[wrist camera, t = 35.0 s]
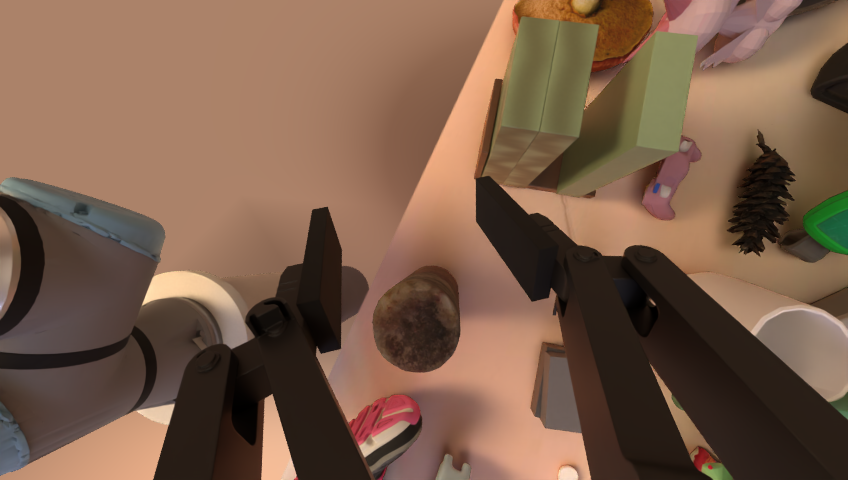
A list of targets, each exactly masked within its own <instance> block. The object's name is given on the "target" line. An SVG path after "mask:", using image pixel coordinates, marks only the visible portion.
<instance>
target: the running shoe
mask: <svg viewBox="0 0 848 480" xmlns="http://www.w3.org/2000/svg"><path fill="white" fill-rule="evenodd" d="M349 426H350V428H351V430H352V432H353V434H354V436H355V439H356V441H357V443H358V445H359V447H360V449H361V451H362V453H363V455H364V457H365V460H366V462H367V464H368V466H369V468H370V470H371V472H372V474H373V476H374V478H375V480H382V479H383V477H384V474H385V471H386V468H387V466H388V465H389V464H390V463H392V462H393V461H394V460H396V459H397V458H398V457H400V456H401V455H402V454H403V453H404V452H405V451H406V450H407V449H408V448H409V447H410V446H411V445H412V444H413V443H414V442H415V441H416V440H417V438H418V436H419V435H420V432H421V430H422V416H421V413H420V408H419V406H418V404H417V403H416V402H415V401H414V400H413V399H411V398H410V397H408V396H406V395H392V396H391V397H390V398H389V399H388V398H381V399H378V400H376V401H375V402H374V403H373V405H372V406H367V407H365V408H364V409H363V410H362V411H361V412H360V413H359V415H358V417H357V419H356V420H355V419H353V420H352V421H351V422H350V423H349ZM294 480H298V478H297V476H296V478H295V479H294Z"/></svg>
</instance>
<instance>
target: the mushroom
mask: <svg viewBox="0 0 848 480" xmlns="http://www.w3.org/2000/svg"><path fill="white" fill-rule="evenodd" d="M522 16H524V17H533V18H542V19H551V20H559V21H569V22H578V23H587V24H596V25H599V30H598V35H597V41H596V46H595V52H594V57H593V63H592V68H591V72H595V71H601V70H606V69H609V68H611V67H613V66H615V65H617V64H619V63H621V62H623V61H624V60H625V59H627V58H628V57H629V55H630V54H631V53H632V52H633V51H634V49H635V48H636V47H637V46H638V45H639V44H640V43H641V41H642V40H643V39H644V37H645V36H646V35H647V34H648V32H649V30H650V28H651V25H652V17H653V7H652V3H651V2H650V0H519V1H518V2H517V3H516V4H515V6H514V10H513V30H514V32H515V35H516V34H517V30H518V27H519V23H520V20H521V17H522Z"/></svg>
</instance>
